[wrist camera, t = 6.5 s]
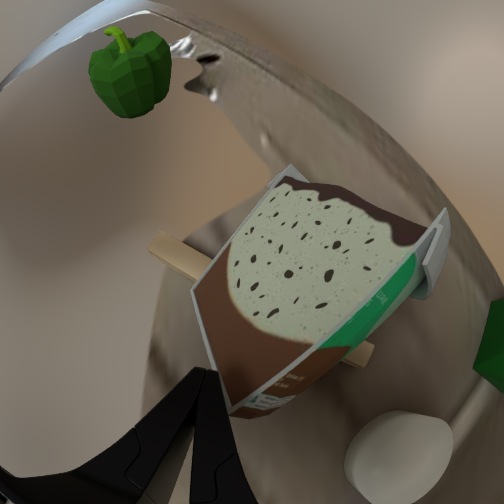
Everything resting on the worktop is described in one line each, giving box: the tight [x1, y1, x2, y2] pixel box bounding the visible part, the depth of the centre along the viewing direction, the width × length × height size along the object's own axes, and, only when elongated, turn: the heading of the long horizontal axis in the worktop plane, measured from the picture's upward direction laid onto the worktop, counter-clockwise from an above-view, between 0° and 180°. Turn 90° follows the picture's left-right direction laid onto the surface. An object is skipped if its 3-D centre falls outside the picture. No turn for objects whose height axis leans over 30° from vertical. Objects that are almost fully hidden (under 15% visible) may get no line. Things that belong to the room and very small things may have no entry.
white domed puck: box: [344, 410, 453, 504], centre depth 12 cm, size 7×7×4 cm
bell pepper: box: [88, 26, 172, 119], centre depth 20 cm, size 8×8×10 cm
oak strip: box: [147, 230, 375, 368], centre depth 17 cm, size 2×16×2 cm, turn 61°
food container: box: [190, 164, 451, 419], centre depth 14 cm, size 12×6×10 cm
